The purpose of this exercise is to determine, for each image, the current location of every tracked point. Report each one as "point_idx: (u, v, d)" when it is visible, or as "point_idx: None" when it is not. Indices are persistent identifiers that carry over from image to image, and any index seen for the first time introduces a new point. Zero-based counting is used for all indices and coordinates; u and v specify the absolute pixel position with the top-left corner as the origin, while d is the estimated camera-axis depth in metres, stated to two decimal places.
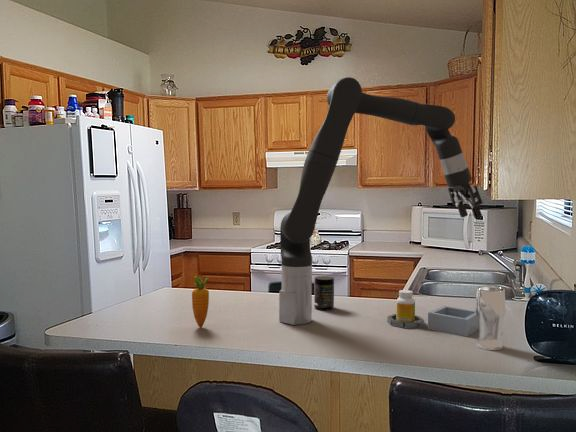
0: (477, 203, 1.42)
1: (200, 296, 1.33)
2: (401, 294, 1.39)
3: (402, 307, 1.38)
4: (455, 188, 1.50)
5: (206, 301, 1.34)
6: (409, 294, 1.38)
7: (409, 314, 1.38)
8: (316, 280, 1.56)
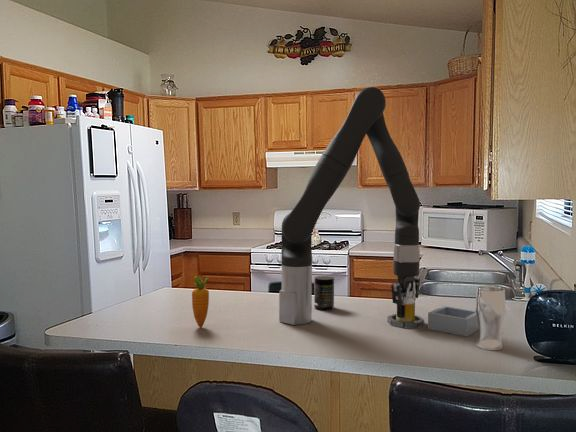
0: (395, 301, 1.36)
1: (201, 296, 1.33)
2: None
3: None
4: None
5: (206, 301, 1.34)
6: (409, 294, 1.39)
7: (409, 314, 1.38)
8: (316, 280, 1.56)
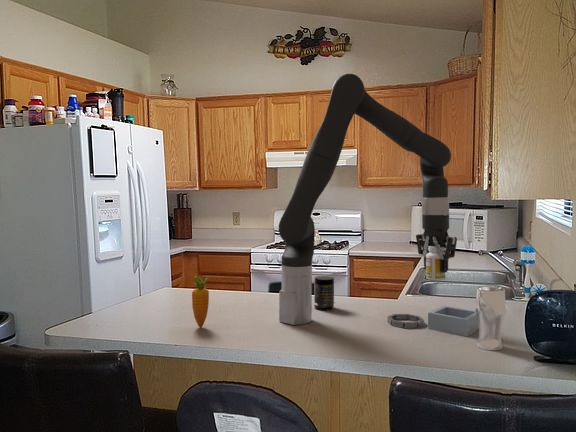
0: (450, 255, 1.32)
1: (201, 296, 1.33)
2: None
3: None
4: (428, 233, 1.38)
5: (206, 301, 1.34)
6: None
7: None
8: (316, 280, 1.56)
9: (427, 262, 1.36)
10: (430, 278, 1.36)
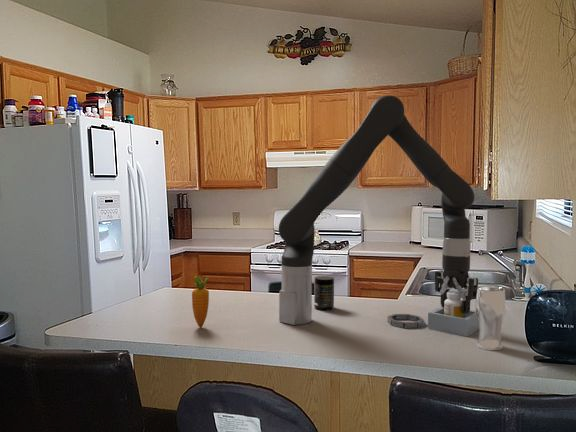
0: (473, 297, 1.30)
1: (200, 296, 1.33)
2: (458, 296, 1.34)
3: None
4: (448, 273, 1.36)
5: (206, 301, 1.34)
6: None
7: None
8: (316, 280, 1.56)
9: (445, 309, 1.35)
10: None
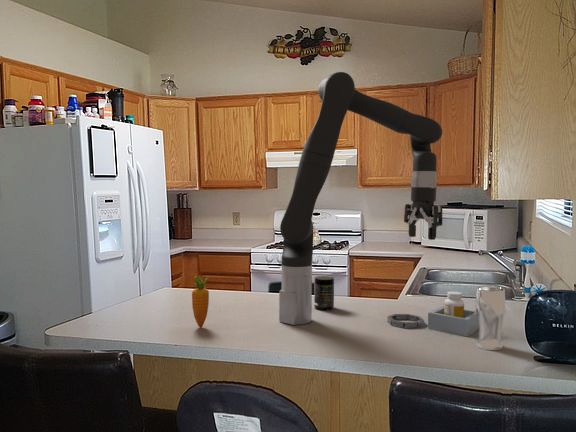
0: (438, 223, 1.40)
1: (200, 296, 1.33)
2: (458, 296, 1.34)
3: (462, 309, 1.34)
4: (416, 205, 1.47)
5: (206, 301, 1.34)
6: None
7: None
8: (316, 280, 1.56)
9: (446, 309, 1.35)
10: None
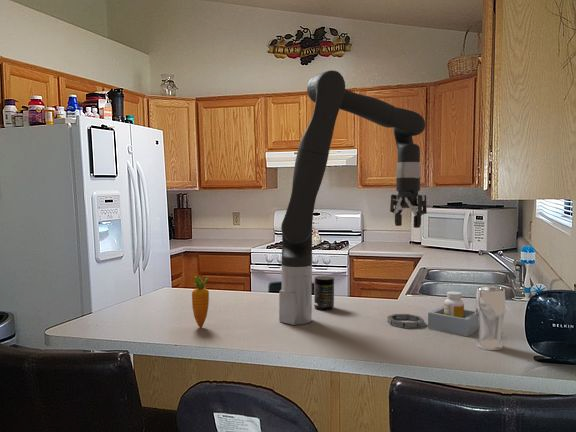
0: (422, 211, 1.46)
1: (200, 296, 1.33)
2: (458, 296, 1.34)
3: (462, 309, 1.34)
4: (401, 195, 1.53)
5: (206, 301, 1.34)
6: None
7: None
8: (316, 280, 1.56)
9: (445, 309, 1.35)
10: None
